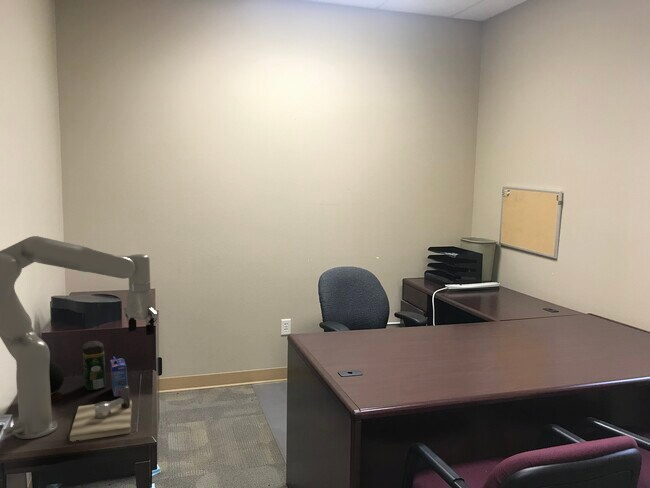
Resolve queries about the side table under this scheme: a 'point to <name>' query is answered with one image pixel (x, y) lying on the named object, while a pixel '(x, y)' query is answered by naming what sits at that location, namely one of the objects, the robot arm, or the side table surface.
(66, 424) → the side table surface
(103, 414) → the crank dial
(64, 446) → the side table surface
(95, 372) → the coffee jar
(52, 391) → the black half-round shape
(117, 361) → the ink cartridge box
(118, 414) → the birch stand
